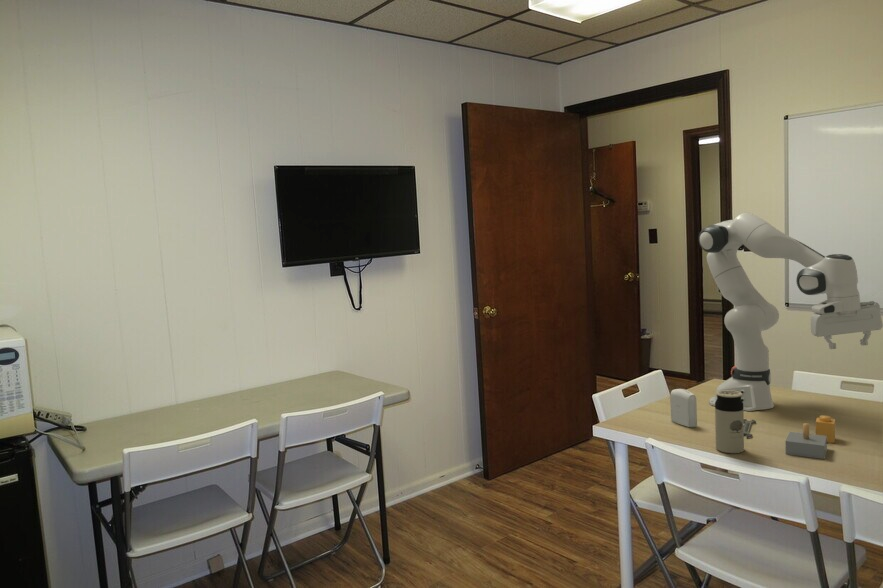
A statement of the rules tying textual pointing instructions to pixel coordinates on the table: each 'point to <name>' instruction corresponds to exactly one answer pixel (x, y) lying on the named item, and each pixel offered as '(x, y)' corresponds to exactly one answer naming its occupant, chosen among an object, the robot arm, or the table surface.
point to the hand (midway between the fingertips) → (848, 346)
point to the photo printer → (683, 407)
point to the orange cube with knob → (826, 427)
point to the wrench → (748, 428)
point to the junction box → (806, 444)
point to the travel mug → (729, 421)
